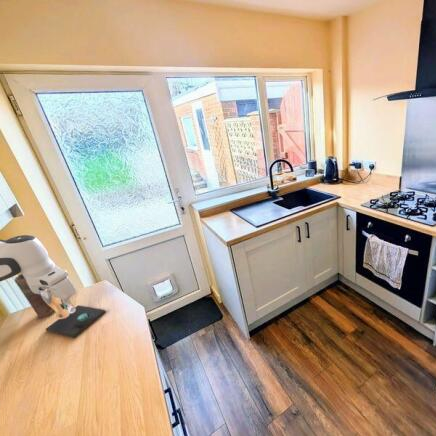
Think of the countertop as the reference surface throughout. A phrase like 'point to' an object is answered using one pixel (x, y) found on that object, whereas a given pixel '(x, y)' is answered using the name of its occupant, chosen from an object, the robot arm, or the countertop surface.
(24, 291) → the candle
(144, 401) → the countertop surface
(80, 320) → the button
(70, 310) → the beer glass
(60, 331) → the scale
